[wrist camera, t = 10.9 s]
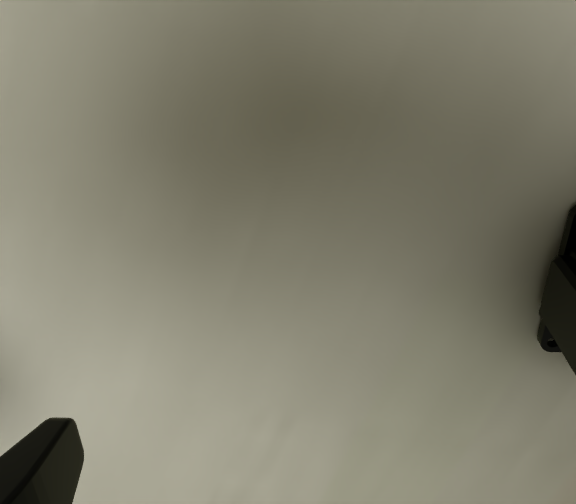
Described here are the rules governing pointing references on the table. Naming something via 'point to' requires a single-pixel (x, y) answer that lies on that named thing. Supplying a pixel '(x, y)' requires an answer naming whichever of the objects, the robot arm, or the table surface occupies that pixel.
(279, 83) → the table surface
